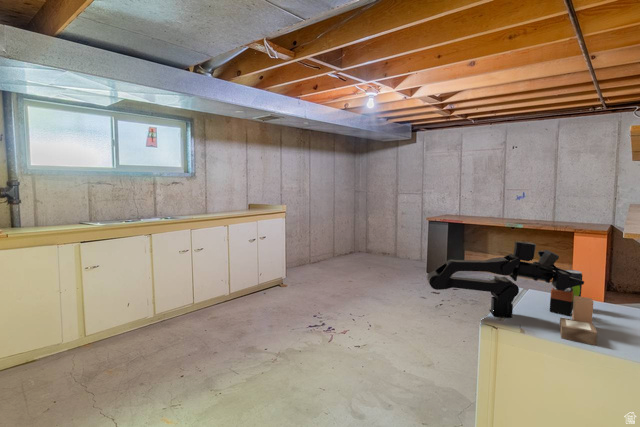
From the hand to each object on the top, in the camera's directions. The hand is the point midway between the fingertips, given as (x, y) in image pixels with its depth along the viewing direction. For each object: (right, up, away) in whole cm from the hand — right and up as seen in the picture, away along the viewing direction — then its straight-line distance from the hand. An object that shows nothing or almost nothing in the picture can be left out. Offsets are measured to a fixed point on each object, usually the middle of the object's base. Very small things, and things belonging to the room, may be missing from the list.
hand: (577, 278), depth 126 cm
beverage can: (+9, -15, +16) cm, 24 cm away
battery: (0, -16, +10) cm, 18 cm away
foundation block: (-9, -17, -12) cm, 23 cm away
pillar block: (-1, -16, -3) cm, 17 cm away
